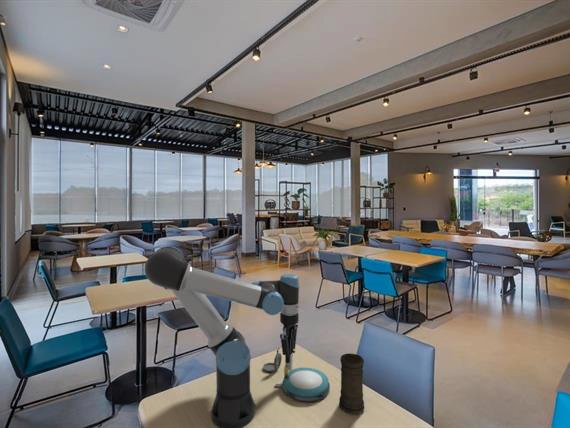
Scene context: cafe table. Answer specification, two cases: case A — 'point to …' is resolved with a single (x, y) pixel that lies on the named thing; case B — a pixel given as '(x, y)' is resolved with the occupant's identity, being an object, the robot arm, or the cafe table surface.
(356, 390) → the container
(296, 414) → the cafe table surface
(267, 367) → the pocket watch
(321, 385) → the turntable
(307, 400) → the turntable base
